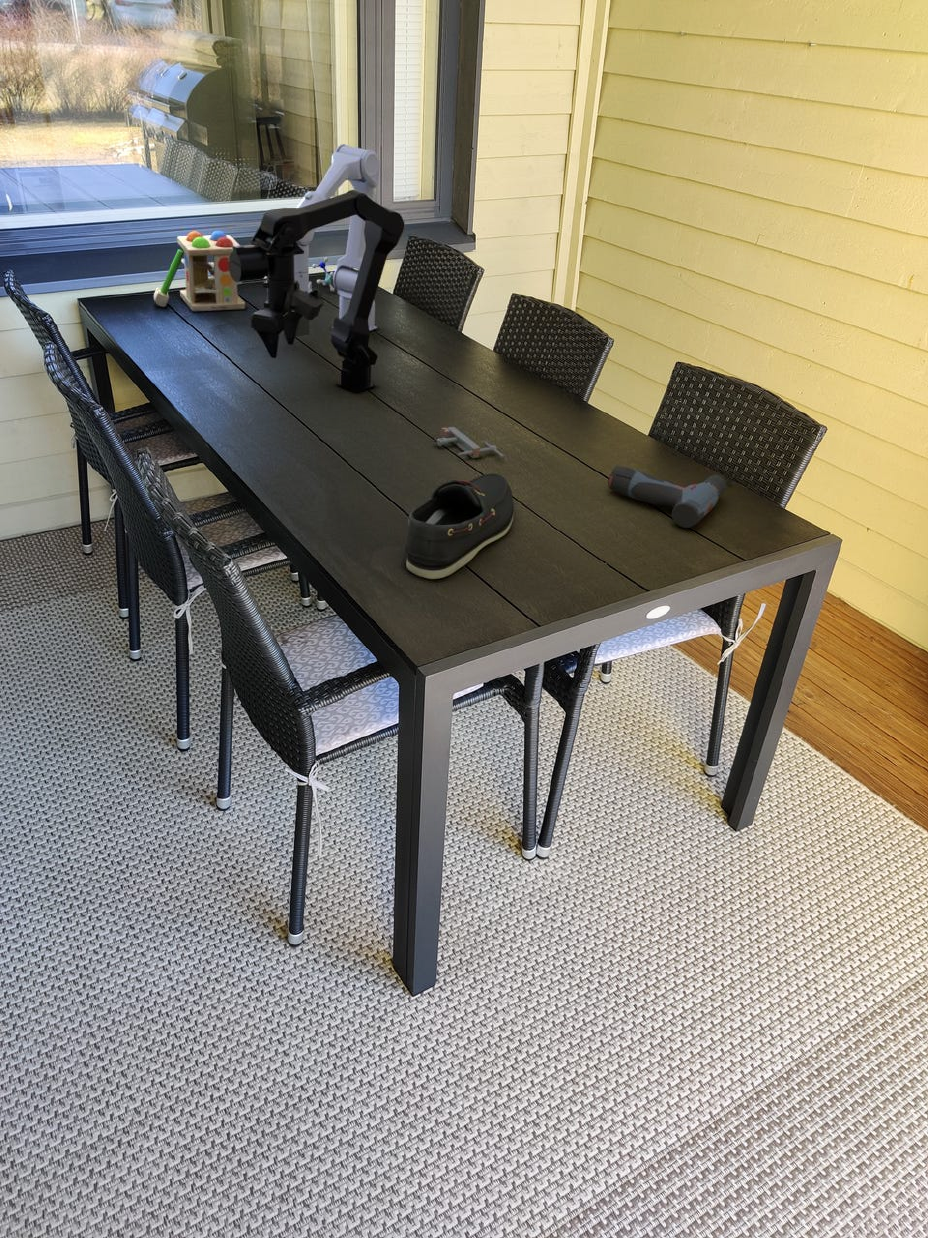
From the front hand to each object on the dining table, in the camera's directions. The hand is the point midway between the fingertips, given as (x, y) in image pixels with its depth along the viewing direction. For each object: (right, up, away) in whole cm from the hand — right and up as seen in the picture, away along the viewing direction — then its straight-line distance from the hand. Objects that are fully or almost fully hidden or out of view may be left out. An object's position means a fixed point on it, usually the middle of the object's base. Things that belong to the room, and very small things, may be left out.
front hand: (282, 350), depth 210 cm
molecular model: (0, +40, +78) cm, 88 cm away
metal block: (-2, +13, +31) cm, 34 cm away
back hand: (-2, +14, +30) cm, 34 cm away
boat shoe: (+38, -43, -38) cm, 69 cm away
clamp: (+39, -23, -8) cm, 46 cm away
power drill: (+78, -34, -19) cm, 87 cm away
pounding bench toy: (-33, +28, +56) cm, 71 cm away
